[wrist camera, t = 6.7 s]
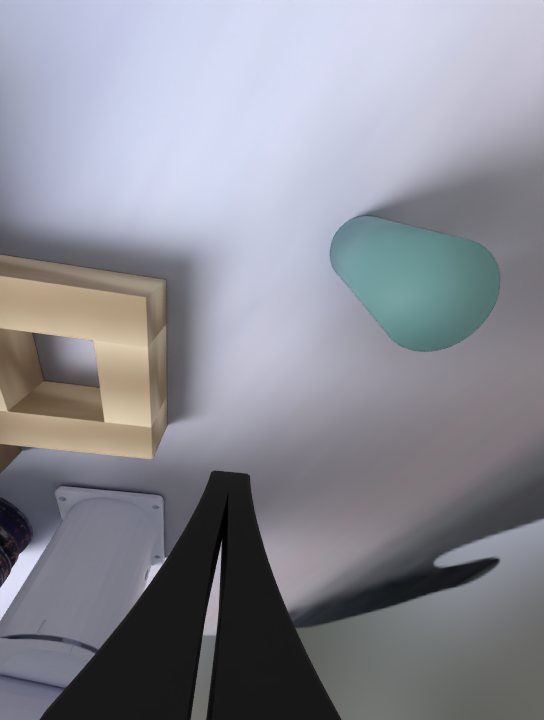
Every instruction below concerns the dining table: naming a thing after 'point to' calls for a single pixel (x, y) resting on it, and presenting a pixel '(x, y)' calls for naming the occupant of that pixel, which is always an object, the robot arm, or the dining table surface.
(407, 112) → the dining table surface
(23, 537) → the storage jar
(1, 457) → the backstop wall
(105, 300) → the light wooden square frame
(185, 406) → the dining table surface
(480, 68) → the dining table surface
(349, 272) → the dowel
